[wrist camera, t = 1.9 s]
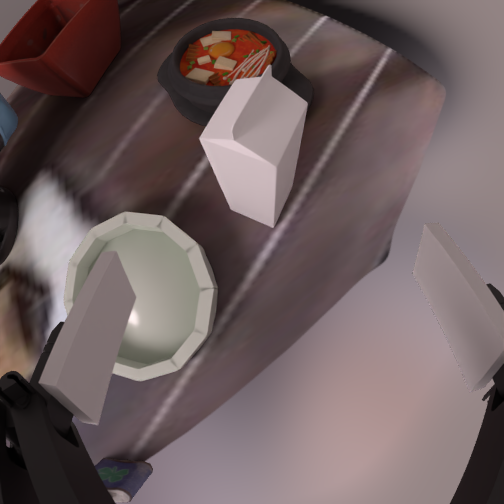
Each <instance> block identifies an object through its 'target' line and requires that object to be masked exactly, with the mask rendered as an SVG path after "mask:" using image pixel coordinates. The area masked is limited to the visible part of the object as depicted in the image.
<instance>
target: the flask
mask: <svg viewBox="0 0 504 504" xmlns="http://www.w3.org/2000/svg"><path fill="white" fill-rule="evenodd" d="M95 468H96V470H97V472H98V474H99V476H100V477H101V479H102V481H103V483H104V485H105V486H106V488H107V490H108V492H109V493H110V495H111V497H112V498H113V500H114V502H122V503H124V502H130V501H131V500H132V498H133V497H134V495H135V494H136V493H137V492H138V490H139V489H140V488H141V486H142V485H143V483H144V482H145V481H146V480H147V478H148V477H149V475H151V473H152V471H153V468H152V466H151V464H149V463H147V462H144V461H138V462H137V461H131V460H123V461H119V460H113V459H112V458H111V459H109V458H103V459H102V460H101V461H100V462H99V463H98V464H97V465H95Z"/></svg>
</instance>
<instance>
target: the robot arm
mask: <svg viewBox="0 0 504 504" xmlns="http://www.w3.org/2000/svg"><path fill="white" fill-rule="evenodd" d="M17 124H18V118H17V115H16V113H15V112H14V110H13V109H12V107H11V106H10V105H9V103H8V102H7V101H6V100H5V98H4V97H3V96H2V95H1V93H0V151H1V150H2V149H3V147H4V146H5V145H6V144H7V141H8V139H9V138H10V136H11V135H12V134H13V132H14V131H15V129H16V127H17ZM17 225H18V206H17V202H16V199H15V196H14V195H13V193H12V192H11V191H10V190H8V189H6V188H4V187H2V186H0V264H2V262H3V261H4V260H5V259H6V257H7V256H8V254H9V252H10V250H11V248H12V245H13V243H14V239H15V236H16V232H17ZM412 274H413V275H414V277H415V279H416V281H417V283H418V284H419V286H420V288H421V290H422V292H423V293H424V295H425V297H426V299H427V301H428V303H429V304H430V307H431V309H432V311H433V313H434V314H435V317H436V319H437V321H438V322H439V325H440V326H441V329H442V330H443V333H444V335H445V337H446V339H447V341H448V343H449V345H450V348H451V350H452V352H453V354H454V356H455V359H456V361H457V363H458V366H459V368H460V370H461V372H462V375H463V377H464V380H465V382H466V385H467V387H468V389H469V392H473V391H476V390H478V389H481V388H483V387H485V386H486V385H487V384H488V383H489V381H490V380H491V379H492V378H493V380H494V383H495V384H494V385H493V387H492V388H491V389H490V390H489V391H488V392H487V393H486V394H485V395H484V397H483V399H482V400H483V401H485V399H487V398H488V396H489V395H490V397H489V400H488V405H487V409H486V412H485V415H484V419H483V423H482V425H481V429H480V432H479V435H478V438H477V441H476V444H475V446H474V449H473V452H472V454H471V457H470V460H469V463H468V465H467V467H466V470H465V472H464V474H463V477H462V479H461V481H460V484H459V486H458V488H457V490H456V492H455V494H454V496H453V499H452V500H451V503H450V504H504V297H503V296H502V294H501V293H500V292H499V291H498V290H497V289H496V288H495V287H494V286H493V285H491V284H485V282H484V281H483V279H482V278H481V276H480V275H479V274H478V273H477V271H476V270H475V268H474V267H473V266H472V264H471V263H470V261H469V260H468V259H467V257H466V256H465V255H464V254H463V252H462V251H461V250H460V248H459V247H458V246H457V245H456V243H455V242H454V241H453V240H452V238H451V237H450V236H449V235H448V233H447V232H446V231H445V230H444V229H443V228H442V226H441V225H440V224H439V223H428V224H424V229H423V233H422V237H421V242H420V245H419V250H418V253H417V258H416V261H415V265H414V269H413V272H412ZM135 300H136V295H135V293H134V291H133V288H132V286H131V284H130V282H129V279H128V277H127V275H126V273H125V270H124V268H123V266H122V263H121V261H120V258H119V256H118V253H117V251H108V252H102V253H101V254H100V256H99V258H98V259H97V261H96V263H95V265H94V267H93V268H92V270H91V272H90V274H89V276H88V277H87V279H86V281H85V283H84V285H83V287H82V289H81V291H80V292H79V294H78V296H77V298H76V300H75V302H74V304H73V306H72V308H71V310H70V312H69V314H68V316H67V318H66V320H65V322H60V323H59V324H58V325H57V326H56V327H55V328H54V330H53V331H52V332H51V334H50V336H49V339H48V341H47V344H46V345H45V347H44V350H43V353H42V354H41V356H40V359H39V361H38V363H37V366H36V368H35V370H34V373H33V375H32V378H31V380H30V383H28V382H27V381H26V380H25V379H24V378H23V377H22V376H21V375H20V374H19V373H18V372H16V371H10V372H8V373H6V374H5V375H3V376H2V377H1V379H0V504H116V503H115V502H114V500H113V498H112V497H111V495H110V493H109V492H108V490H107V488H106V486H105V485H104V483H103V481H102V479H101V477H100V476H99V474H98V472H97V470H96V468H95V466H94V464H93V462H92V460H91V458H90V456H89V454H88V452H87V450H86V448H85V446H84V444H83V442H82V440H81V437H80V435H79V433H78V431H77V428H76V426H75V425H74V423H73V422H72V418H73V415H74V416H75V417H76V418H78V419H79V420H80V421H81V422H85V423H90V424H95V425H98V424H99V420H100V416H101V412H102V408H103V404H104V400H105V397H106V393H107V389H108V386H109V382H110V378H111V375H112V371H113V368H114V365H115V361H116V358H117V355H118V351H119V348H120V345H121V342H122V339H123V336H124V333H125V330H126V326H127V323H128V320H129V318H130V315H131V312H132V309H133V306H134V303H135ZM6 439H7V440H8V441H10V448H9V447H7V446H6Z"/></svg>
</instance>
